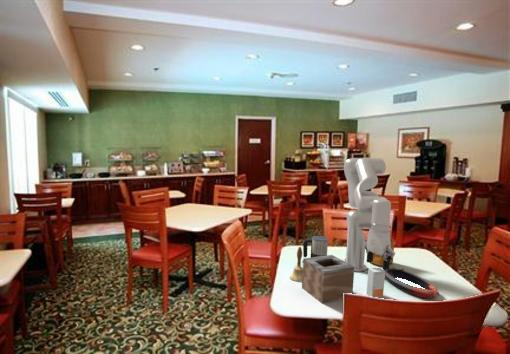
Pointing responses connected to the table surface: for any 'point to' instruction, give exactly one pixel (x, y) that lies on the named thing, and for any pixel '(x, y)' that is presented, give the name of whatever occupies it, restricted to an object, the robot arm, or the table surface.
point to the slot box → (327, 278)
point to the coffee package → (379, 258)
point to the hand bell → (298, 268)
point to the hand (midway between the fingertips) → (377, 265)
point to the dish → (393, 273)
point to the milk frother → (316, 246)
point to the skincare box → (375, 282)
